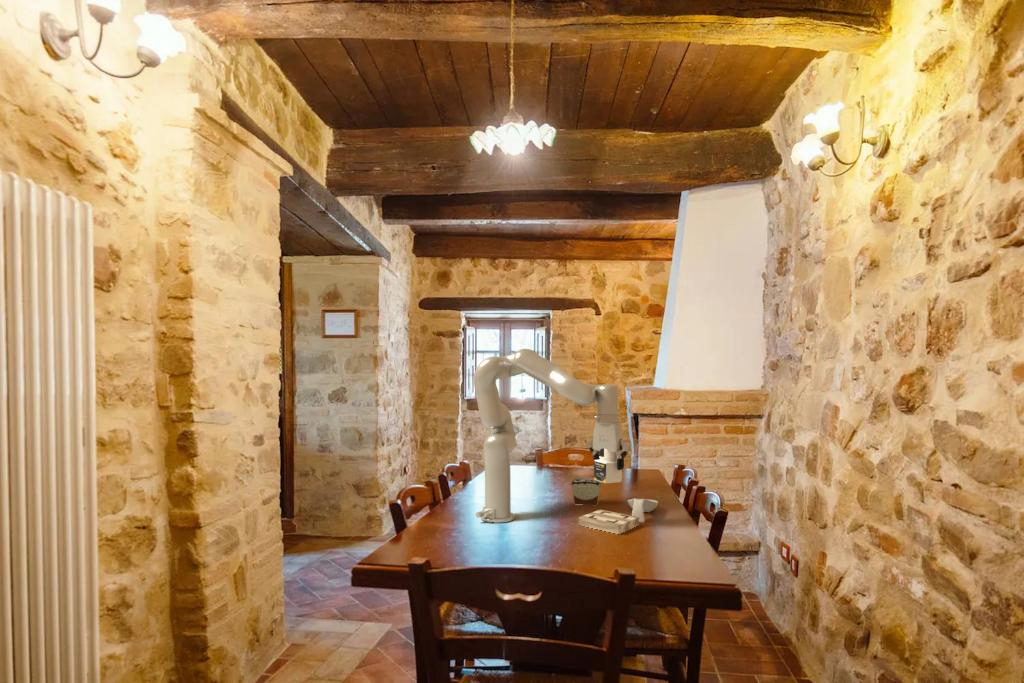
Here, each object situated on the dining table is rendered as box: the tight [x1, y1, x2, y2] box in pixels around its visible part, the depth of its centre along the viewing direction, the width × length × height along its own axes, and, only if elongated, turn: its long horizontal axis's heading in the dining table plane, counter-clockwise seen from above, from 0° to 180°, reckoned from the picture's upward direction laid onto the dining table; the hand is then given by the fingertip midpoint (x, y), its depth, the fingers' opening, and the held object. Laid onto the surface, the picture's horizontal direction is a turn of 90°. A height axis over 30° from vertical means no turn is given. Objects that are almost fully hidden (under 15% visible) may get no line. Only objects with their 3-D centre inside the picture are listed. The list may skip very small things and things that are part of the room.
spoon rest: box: [627, 498, 659, 523], centre depth 209 cm, size 24×12×7 cm, turn 162°
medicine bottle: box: [593, 449, 623, 484], centre depth 194 cm, size 7×7×12 cm
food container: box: [570, 477, 602, 506], centre depth 225 cm, size 12×6×10 cm, turn 84°
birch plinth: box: [578, 509, 640, 535], centre depth 193 cm, size 14×16×3 cm
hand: (608, 467), depth 194 cm, fingers closed on medicine bottle, 9 cm apart
